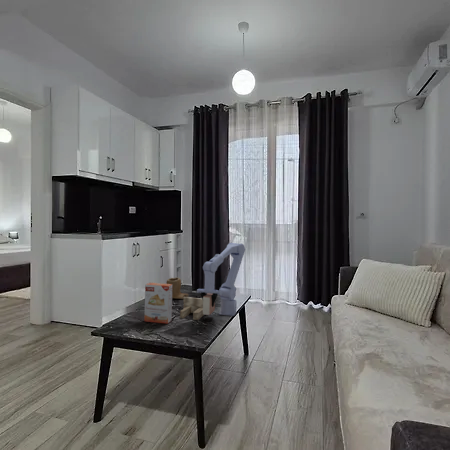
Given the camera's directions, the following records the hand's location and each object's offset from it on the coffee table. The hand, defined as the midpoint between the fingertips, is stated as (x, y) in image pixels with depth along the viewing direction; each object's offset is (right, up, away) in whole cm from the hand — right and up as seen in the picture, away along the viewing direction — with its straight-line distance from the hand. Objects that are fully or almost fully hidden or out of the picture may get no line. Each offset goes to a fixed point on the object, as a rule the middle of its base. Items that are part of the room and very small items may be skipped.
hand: (209, 306), depth 184 cm
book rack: (-10, -7, +5) cm, 13 cm away
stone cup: (-26, -7, +46) cm, 54 cm away
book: (0, -4, 0) cm, 4 cm away
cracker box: (-28, -7, -7) cm, 30 cm away
